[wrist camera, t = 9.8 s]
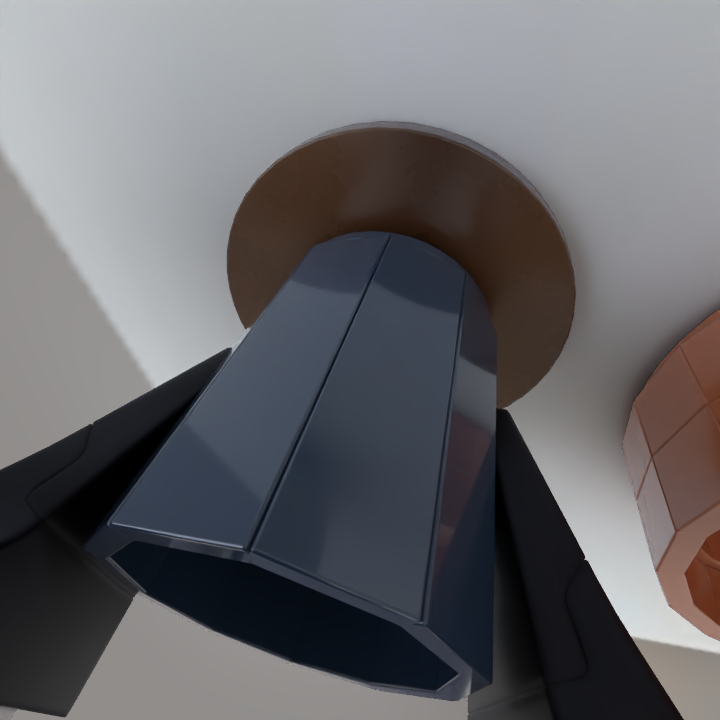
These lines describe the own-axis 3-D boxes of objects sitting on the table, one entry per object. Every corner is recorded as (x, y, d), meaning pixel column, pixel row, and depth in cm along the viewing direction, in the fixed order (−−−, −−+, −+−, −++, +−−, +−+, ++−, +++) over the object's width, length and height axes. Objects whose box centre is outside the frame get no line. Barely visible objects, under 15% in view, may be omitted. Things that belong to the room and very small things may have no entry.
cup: (527, 249, 9) (566, 649, 3) (461, 421, 13) (433, 715, 8) (273, 206, 10) (-7, 472, 4) (291, 381, 14) (162, 620, 9)
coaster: (659, 153, 8) (667, 162, 7) (504, 441, 15) (504, 454, 14) (203, 95, 9) (188, 101, 9) (257, 382, 16) (251, 393, 16)
